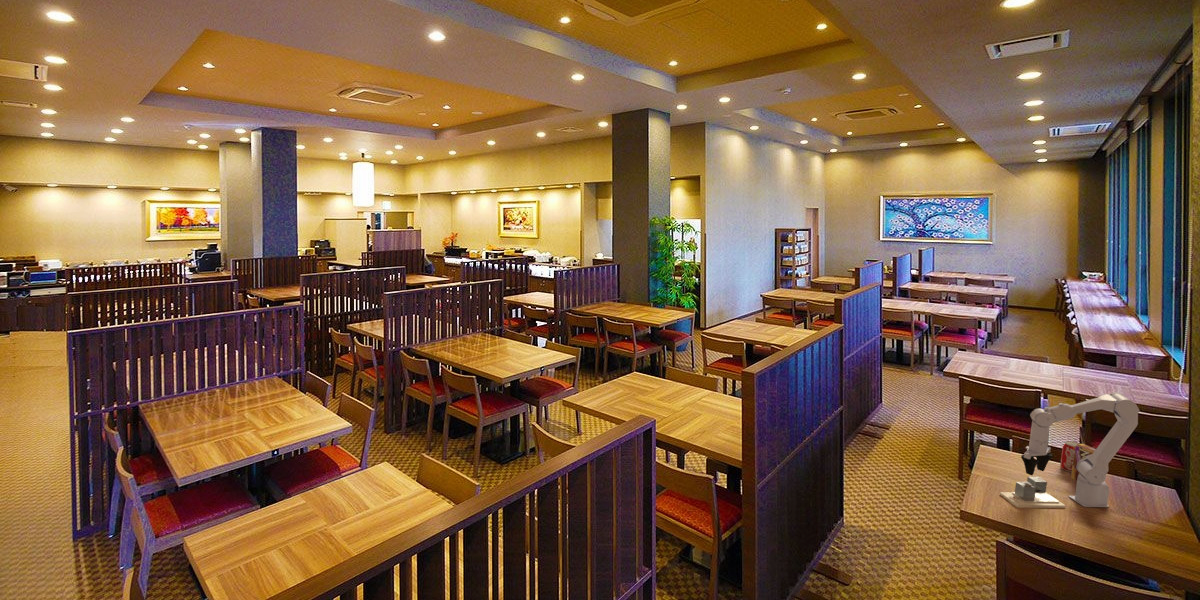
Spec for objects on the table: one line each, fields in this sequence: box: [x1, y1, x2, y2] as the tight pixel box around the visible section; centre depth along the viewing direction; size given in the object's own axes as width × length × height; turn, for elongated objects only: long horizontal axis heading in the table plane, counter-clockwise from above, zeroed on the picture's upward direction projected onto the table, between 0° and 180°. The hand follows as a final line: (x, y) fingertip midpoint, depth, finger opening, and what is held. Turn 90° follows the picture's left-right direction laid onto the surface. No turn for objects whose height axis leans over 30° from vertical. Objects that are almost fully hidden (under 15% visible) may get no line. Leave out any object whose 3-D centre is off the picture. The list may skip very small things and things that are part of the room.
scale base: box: [999, 491, 1066, 509], centre depth 228 cm, size 18×10×1 cm, turn 89°
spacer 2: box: [1026, 476, 1048, 493], centre depth 236 cm, size 4×4×5 cm
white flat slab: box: [1011, 491, 1060, 503], centre depth 229 cm, size 13×7×1 cm, turn 89°
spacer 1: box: [1014, 481, 1036, 500], centre depth 228 cm, size 4×4×5 cm
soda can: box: [1060, 440, 1080, 473], centre depth 254 cm, size 7×7×12 cm
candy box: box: [1070, 443, 1097, 482], centre depth 242 cm, size 9×4×15 cm, turn 12°
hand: (1035, 472), depth 232 cm, fingers open, 7 cm apart
